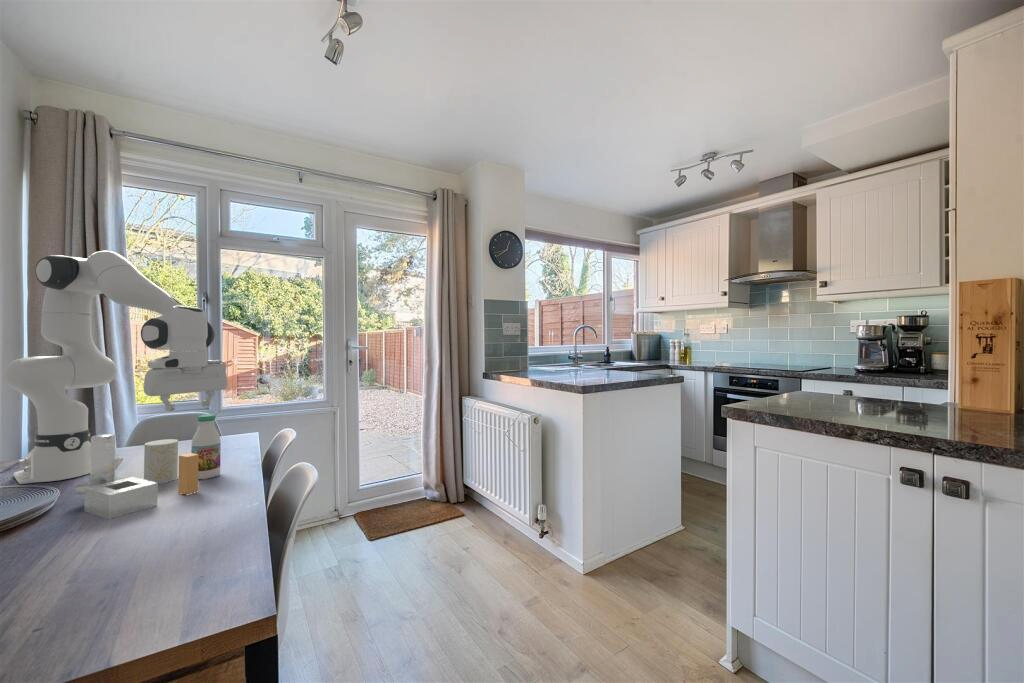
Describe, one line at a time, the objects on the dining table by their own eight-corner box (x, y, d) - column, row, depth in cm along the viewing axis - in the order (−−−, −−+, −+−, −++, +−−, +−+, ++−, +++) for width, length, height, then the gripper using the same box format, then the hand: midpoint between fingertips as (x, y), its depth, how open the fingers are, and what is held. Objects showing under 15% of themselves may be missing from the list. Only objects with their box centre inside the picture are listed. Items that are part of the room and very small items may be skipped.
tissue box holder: (67, 505, 109) (69, 437, 110) (115, 493, 119) (116, 430, 119) (108, 519, 101) (110, 446, 101) (157, 505, 110) (158, 438, 110)
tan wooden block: (178, 493, 119) (178, 455, 119) (189, 489, 122) (190, 452, 122) (186, 495, 117) (187, 457, 118) (198, 492, 120) (198, 454, 120)
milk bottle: (185, 477, 133) (186, 416, 133) (212, 471, 139) (213, 412, 140) (198, 481, 129) (199, 418, 129) (225, 475, 136) (226, 414, 136)
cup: (147, 486, 125) (148, 446, 125) (140, 480, 130) (141, 442, 130) (180, 479, 131) (181, 441, 131) (173, 474, 136) (173, 438, 136)
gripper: (219, 359, 131) (219, 403, 130) (140, 362, 112) (140, 412, 112) (232, 360, 128) (232, 404, 128) (153, 362, 109) (153, 414, 109)
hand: (188, 408), depth 120 cm, fingers open, 8 cm apart
